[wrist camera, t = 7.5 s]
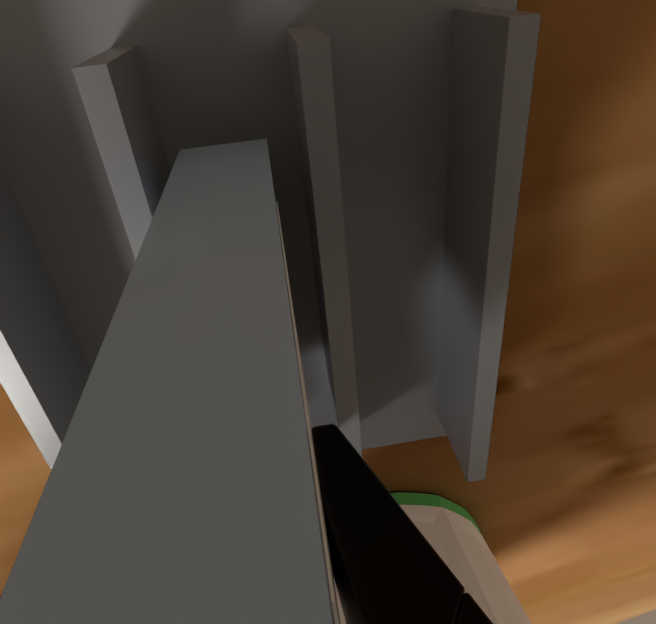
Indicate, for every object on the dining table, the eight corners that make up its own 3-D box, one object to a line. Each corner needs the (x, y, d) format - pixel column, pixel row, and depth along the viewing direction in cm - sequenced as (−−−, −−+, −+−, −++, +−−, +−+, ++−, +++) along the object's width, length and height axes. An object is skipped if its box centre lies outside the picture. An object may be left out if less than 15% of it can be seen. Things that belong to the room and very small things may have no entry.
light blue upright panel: (309, 413, 13) (391, 967, 6) (246, 423, 13) (247, 1000, 6) (267, 138, 10) (348, 708, 2) (178, 149, 9) (-87, 796, 2)
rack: (465, 409, 18) (510, 497, 15) (107, 467, 17) (77, 573, 14) (501, -58, 10) (604, -73, 7) (-116, 8, 10) (-277, 21, 7)
